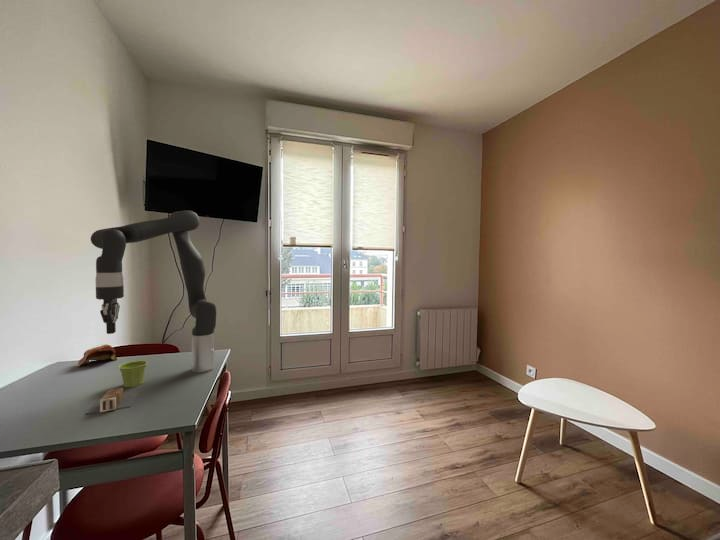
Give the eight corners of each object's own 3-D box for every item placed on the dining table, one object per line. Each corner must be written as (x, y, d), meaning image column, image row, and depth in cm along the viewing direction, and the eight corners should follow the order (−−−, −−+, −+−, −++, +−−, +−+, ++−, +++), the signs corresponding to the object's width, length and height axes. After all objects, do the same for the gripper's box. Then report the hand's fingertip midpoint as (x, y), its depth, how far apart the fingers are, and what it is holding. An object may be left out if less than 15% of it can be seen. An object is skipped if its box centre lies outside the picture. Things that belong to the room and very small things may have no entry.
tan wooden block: (115, 409, 98) (123, 398, 106) (115, 398, 98) (123, 387, 106) (100, 412, 96) (109, 400, 104) (100, 400, 96) (109, 389, 104)
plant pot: (116, 384, 118) (116, 364, 118) (144, 378, 125) (144, 358, 125) (120, 392, 112) (120, 370, 112) (149, 384, 119) (149, 364, 119)
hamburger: (117, 358, 151) (116, 339, 151) (121, 363, 143) (121, 344, 142) (74, 365, 139) (74, 345, 139) (76, 372, 131) (76, 350, 131)
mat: (139, 392, 111) (139, 391, 111) (130, 406, 101) (130, 405, 101) (99, 398, 106) (99, 397, 106) (85, 414, 95) (85, 413, 95)
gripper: (118, 286, 98) (119, 336, 98) (127, 283, 109) (128, 328, 110) (89, 287, 94) (90, 339, 95) (102, 284, 106) (103, 330, 107)
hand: (111, 333), depth 103 cm, fingers closed
